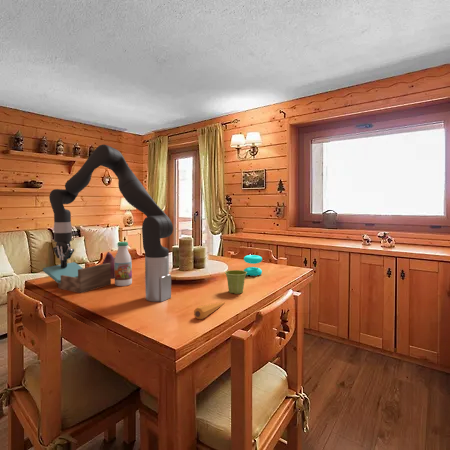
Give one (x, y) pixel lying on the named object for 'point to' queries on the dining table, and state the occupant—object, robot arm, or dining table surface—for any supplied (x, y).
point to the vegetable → (111, 260)
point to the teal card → (62, 271)
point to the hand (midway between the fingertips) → (63, 267)
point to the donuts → (253, 260)
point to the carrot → (206, 310)
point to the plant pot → (235, 280)
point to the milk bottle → (123, 265)
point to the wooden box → (87, 279)
